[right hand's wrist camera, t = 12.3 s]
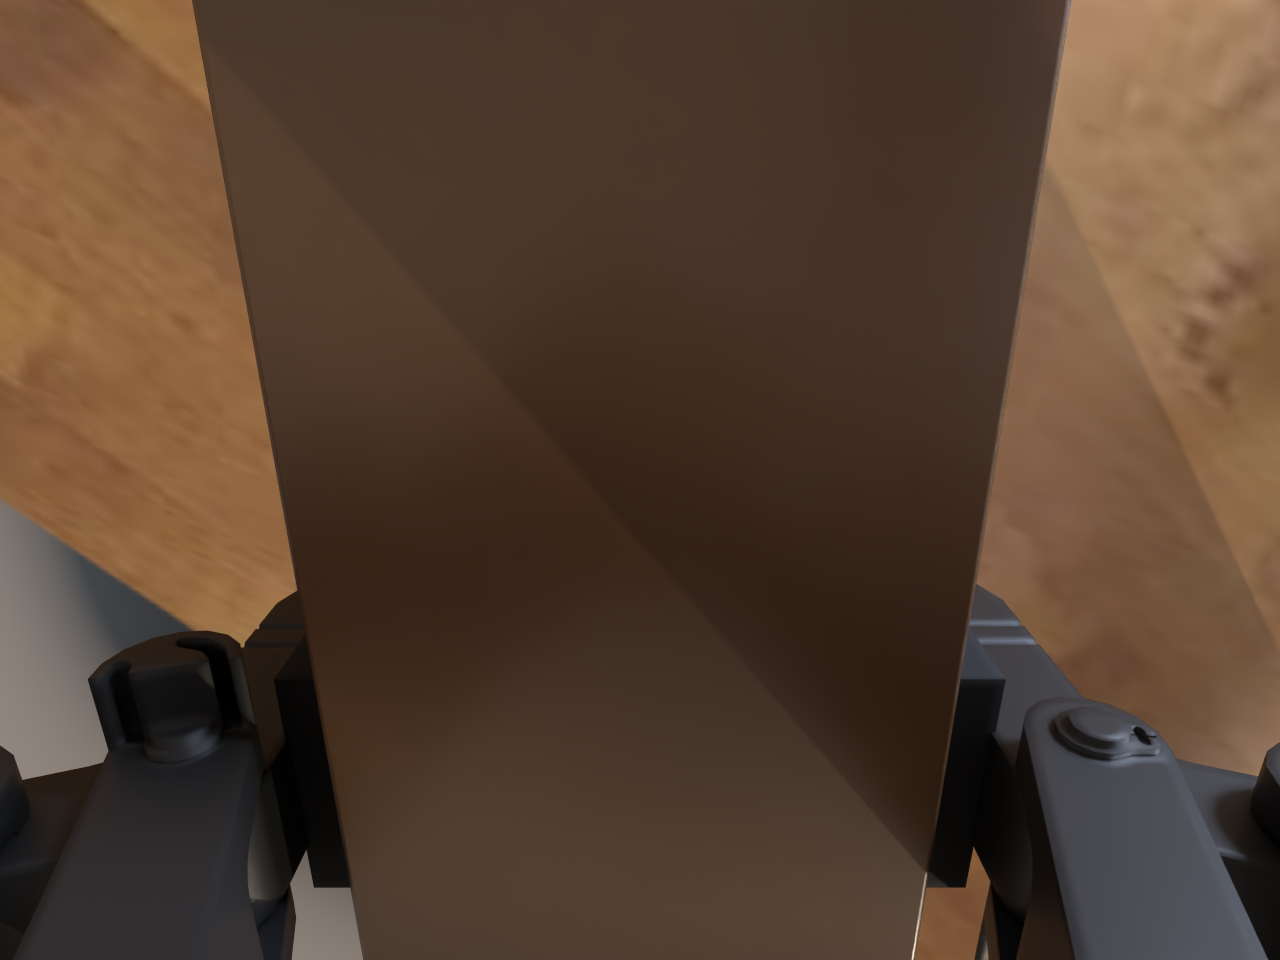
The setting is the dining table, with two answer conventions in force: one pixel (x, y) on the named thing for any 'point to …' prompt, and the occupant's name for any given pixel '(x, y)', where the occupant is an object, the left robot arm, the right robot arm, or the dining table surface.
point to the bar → (635, 443)
